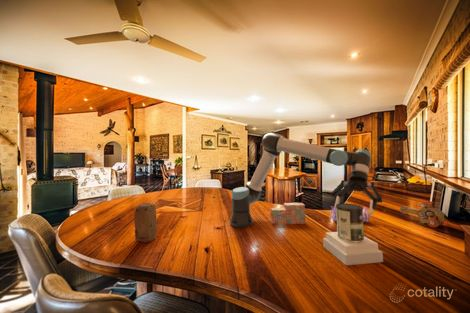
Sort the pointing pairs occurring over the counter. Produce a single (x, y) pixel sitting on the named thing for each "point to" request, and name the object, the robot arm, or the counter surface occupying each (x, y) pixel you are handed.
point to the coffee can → (350, 222)
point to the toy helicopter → (426, 214)
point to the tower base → (353, 256)
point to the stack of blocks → (289, 214)
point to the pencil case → (365, 214)
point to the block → (145, 222)
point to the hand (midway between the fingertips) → (352, 211)
